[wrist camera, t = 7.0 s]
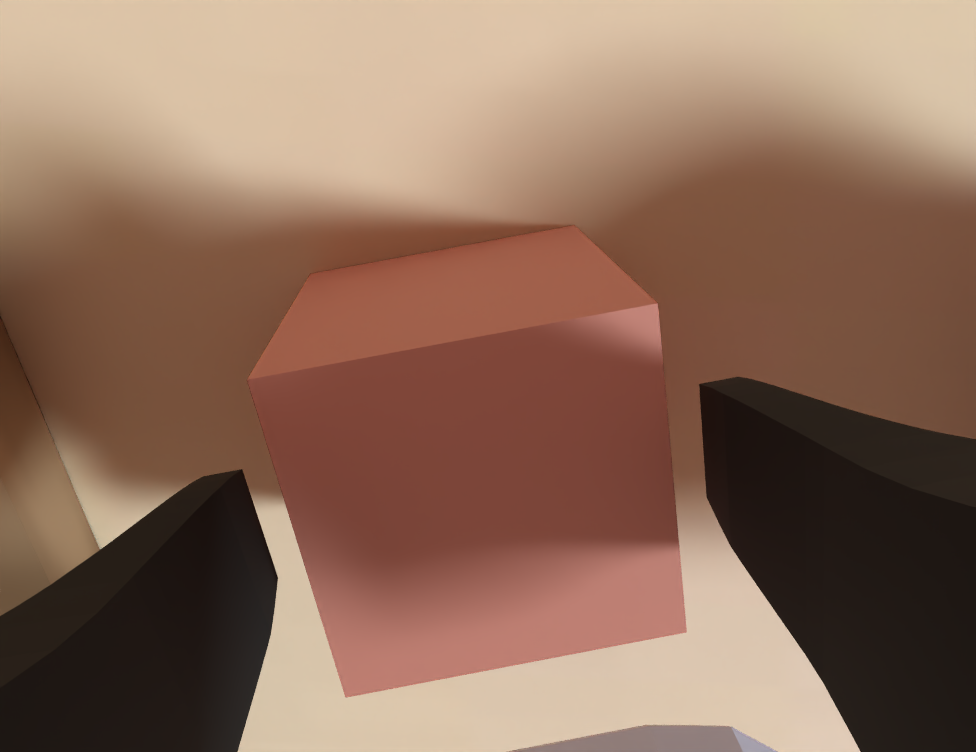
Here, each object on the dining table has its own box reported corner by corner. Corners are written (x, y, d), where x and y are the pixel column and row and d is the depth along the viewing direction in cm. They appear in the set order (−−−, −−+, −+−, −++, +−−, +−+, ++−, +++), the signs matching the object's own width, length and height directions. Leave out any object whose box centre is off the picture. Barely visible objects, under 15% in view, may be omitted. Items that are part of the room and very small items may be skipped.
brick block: (603, 458, 18) (686, 632, 12) (370, 501, 17) (345, 697, 12) (573, 224, 16) (657, 303, 10) (311, 272, 15) (246, 379, 10)
